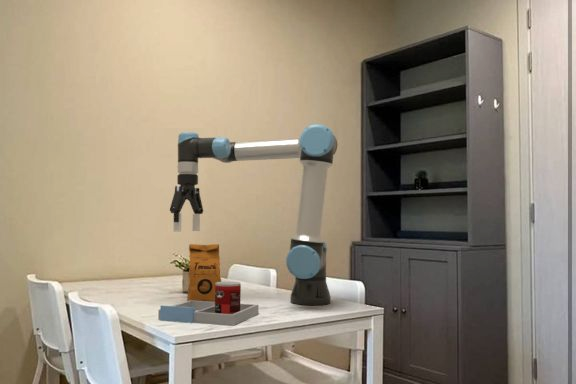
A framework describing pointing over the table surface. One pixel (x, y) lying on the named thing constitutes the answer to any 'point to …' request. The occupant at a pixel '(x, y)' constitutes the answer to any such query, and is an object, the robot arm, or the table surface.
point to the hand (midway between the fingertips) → (187, 231)
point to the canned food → (227, 297)
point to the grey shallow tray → (205, 313)
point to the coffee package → (203, 272)
